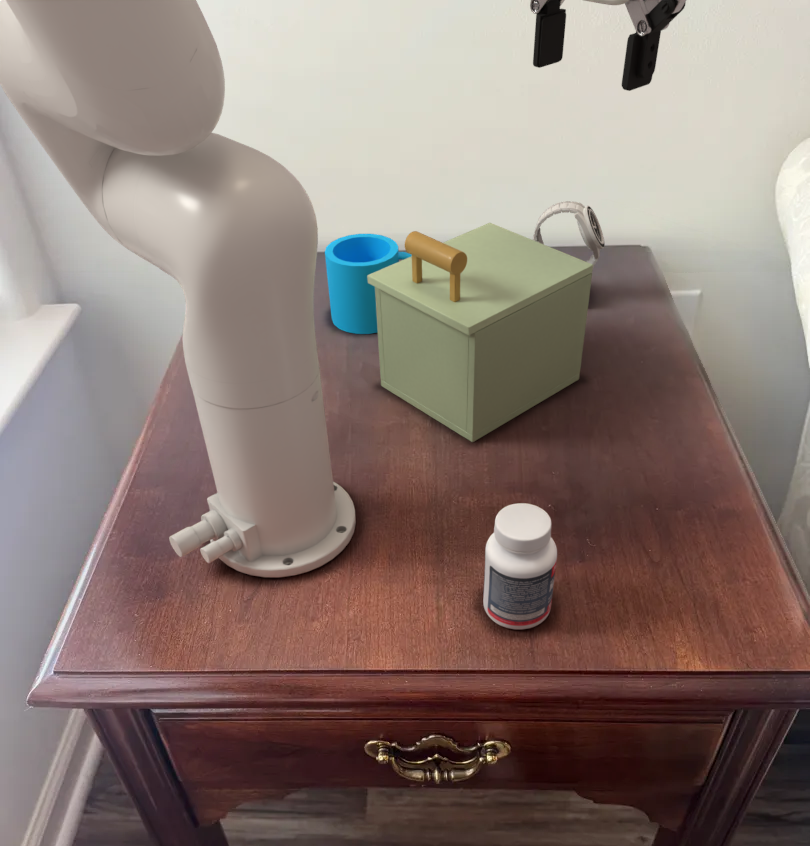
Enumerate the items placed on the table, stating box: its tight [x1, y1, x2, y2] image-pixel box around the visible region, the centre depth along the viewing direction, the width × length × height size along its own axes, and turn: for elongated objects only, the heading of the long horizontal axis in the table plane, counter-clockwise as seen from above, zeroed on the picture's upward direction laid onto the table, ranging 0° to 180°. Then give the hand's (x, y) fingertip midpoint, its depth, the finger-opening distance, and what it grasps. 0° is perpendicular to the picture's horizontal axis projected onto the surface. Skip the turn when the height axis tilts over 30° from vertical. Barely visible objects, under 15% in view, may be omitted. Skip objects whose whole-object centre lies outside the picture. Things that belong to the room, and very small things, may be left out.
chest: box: [375, 272, 593, 443], centre depth 85 cm, size 16×14×12 cm
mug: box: [324, 233, 412, 335], centre depth 97 cm, size 12×8×8 cm
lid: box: [367, 222, 594, 335], centre depth 79 cm, size 16×14×5 cm
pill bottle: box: [482, 502, 558, 630], centre depth 63 cm, size 5×5×9 cm
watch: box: [532, 200, 606, 267], centre depth 98 cm, size 6×8×11 cm
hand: (590, 75), depth 73 cm, fingers open, 9 cm apart
